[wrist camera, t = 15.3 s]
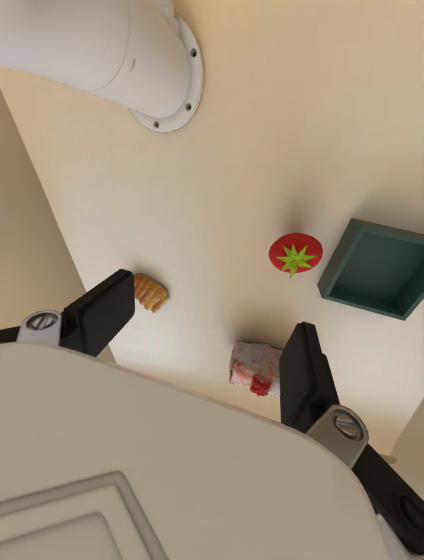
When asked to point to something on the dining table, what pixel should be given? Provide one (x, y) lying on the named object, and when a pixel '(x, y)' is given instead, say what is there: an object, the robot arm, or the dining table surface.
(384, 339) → the dining table surface
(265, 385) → the food item
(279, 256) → the strawberry
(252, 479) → the robot arm
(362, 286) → the open box
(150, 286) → the pastry
